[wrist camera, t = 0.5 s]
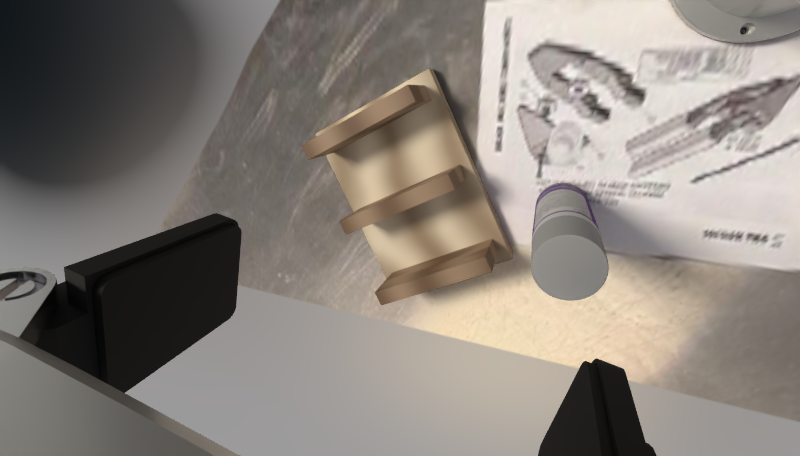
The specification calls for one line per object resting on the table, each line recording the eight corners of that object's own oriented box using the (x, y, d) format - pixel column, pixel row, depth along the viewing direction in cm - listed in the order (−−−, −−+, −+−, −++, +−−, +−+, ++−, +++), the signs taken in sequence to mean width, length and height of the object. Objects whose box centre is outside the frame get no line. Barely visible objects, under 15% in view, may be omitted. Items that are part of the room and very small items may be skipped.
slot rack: (433, 69, 38) (412, 65, 32) (513, 253, 41) (507, 279, 35) (322, 132, 44) (288, 138, 38) (399, 289, 47) (378, 317, 41)
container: (580, 234, 38) (597, 311, 25) (530, 224, 40) (521, 291, 26) (594, 188, 37) (621, 242, 23) (542, 178, 38) (538, 225, 24)
